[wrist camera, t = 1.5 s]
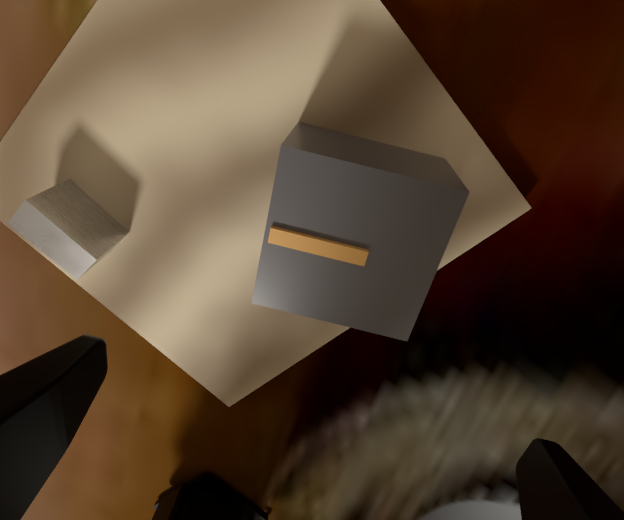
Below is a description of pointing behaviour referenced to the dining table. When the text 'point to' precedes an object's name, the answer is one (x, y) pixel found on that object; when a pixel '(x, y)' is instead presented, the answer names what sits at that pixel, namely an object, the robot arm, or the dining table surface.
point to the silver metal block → (68, 227)
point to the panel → (226, 158)
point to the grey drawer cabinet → (355, 230)
